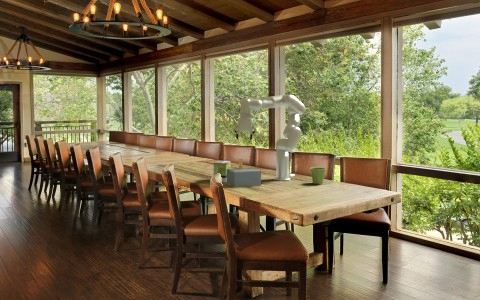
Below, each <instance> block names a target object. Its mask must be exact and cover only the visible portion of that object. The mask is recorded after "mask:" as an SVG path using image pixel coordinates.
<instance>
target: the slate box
mask: <svg viewBox="0 0 480 300" xmlns="http://www.w3.org/2000/svg"><path fill="white" fill-rule="evenodd" d="M226 184H227V185H228V184H229V186H231V187H233V188H245V187H246V188H247V187H248V188H249V187H259V186H260V187H261V186H262V171H261V172H244V173H234V172H231V171H228V170H227V182H226Z"/></svg>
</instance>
